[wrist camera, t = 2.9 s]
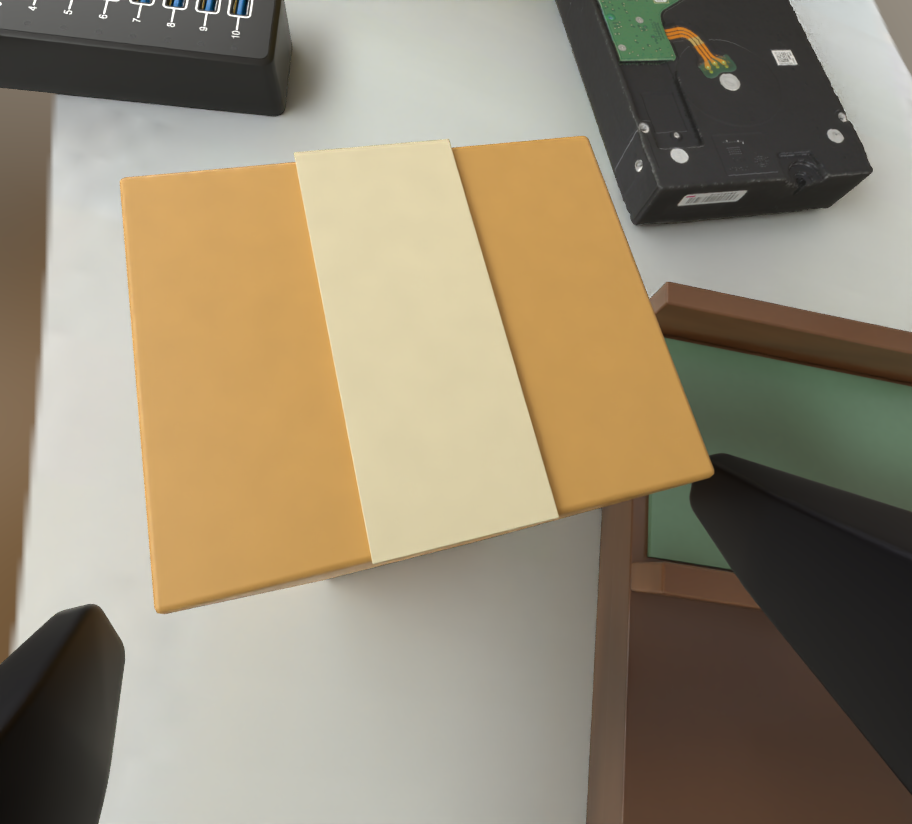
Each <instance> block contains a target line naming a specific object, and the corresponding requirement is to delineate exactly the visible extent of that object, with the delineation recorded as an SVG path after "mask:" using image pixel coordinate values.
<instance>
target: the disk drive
mask: <svg viewBox="0 0 912 824" xmlns="http://www.w3.org/2000/svg"><path fill="white" fill-rule="evenodd" d="M555 1H556V4H557V6H558V9H559V12H560V15H561V18H562V21H563V24H564V27H565V30H566V33H567V37H568V39H569V43H570V44H571V48H572V51H573V54H574V58H575V61H576V63H577V66H578V69H579V71H580V75H581V77H582V80H583V82H584V86H585V88H586V92H587V95H588V97H589V101H590V104H591V107H592V110H593V112H594V116H595V119H596V122H597V125H598V127H599V131H600V134H601V137H602V140H603V142H604V145H605V148H606V151H607V155H608V157H609V160H610V163H611V166H612V168H613V172H614V175H615V178H616V180H617V183H618V187H619V188H620V191H621V194H622V197H623V201H624V202H625V204H626V207H627V210H628V211H629V213H630V214H631V216H630V217H631V221H632V222H633V224H635V225H640V224H647V223H676V222H687V221H696V220H706V219H717V218H728V217H737V216H752V215H762V214H775V213H785V212H794V211H802V210H808V209H818V208H828V207H830V206H832V205H833V204H834V203H835V202H837V201H838V200H839V199H840V198H842V197H843V196H844V195H845V194H847V193H848V192H849V191H850V190H852V189H853V188H854V187H855V186H857V185H858V184H859V183H860V182H861V181H862V180H864V179H865V178H866V177H867V176H869V175H870V174H871V173H872V172H873V168H872V167H871V165H870V163H869V161H868V159H867V155H866V152H865V150H864V147H863V144H862V143H861V141H860V139H859V137H858V135H857V133H856V131H855V130H854V127H853V125H852V123H851V122H850V121H848V120H847V119H846V118H847V117H846V113H845V111H844V109H843V106H842V105H841V103H840V101H839V98H838V96H837V95H836V94H835V93H834V90H833V88H832V87H831V83H830V81H829V79H828V77H827V76H826V74H825V72H824V70H823V68H822V66H821V64H820V62H819V60H818V59H817V56H816V54H815V52H814V50H813V49H812V47H811V44H810V43H809V41H808V39H807V36H806V34H805V32H804V30H803V28H802V26H801V24H800V23H799V22H798V18H797V16H796V13H795V11H793V7H792V6H791V5H790V1H789V0H555Z"/></svg>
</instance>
